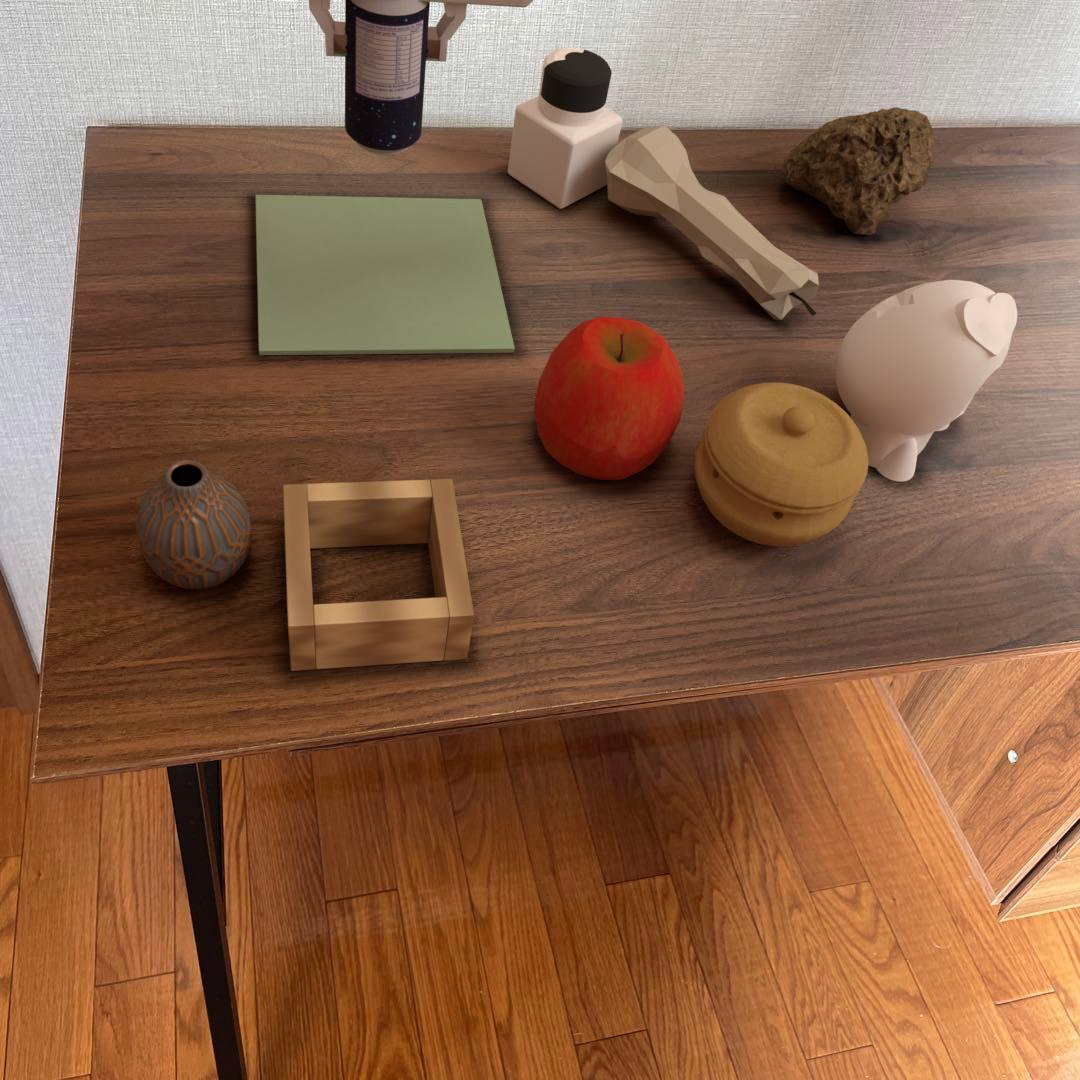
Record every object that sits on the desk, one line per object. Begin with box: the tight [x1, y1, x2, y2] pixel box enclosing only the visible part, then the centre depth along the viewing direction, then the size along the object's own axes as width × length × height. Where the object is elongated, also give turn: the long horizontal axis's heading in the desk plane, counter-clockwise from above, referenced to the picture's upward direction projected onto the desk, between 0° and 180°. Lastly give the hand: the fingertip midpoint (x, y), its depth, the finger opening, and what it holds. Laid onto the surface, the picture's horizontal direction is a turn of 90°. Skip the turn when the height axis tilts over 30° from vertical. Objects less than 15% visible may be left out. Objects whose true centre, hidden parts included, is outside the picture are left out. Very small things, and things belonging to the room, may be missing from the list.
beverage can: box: [344, 0, 431, 156], centre depth 79 cm, size 6×6×12 cm
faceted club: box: [605, 124, 820, 321], centre depth 98 cm, size 9×8×25 cm
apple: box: [533, 316, 686, 481], centre depth 80 cm, size 11×11×11 cm
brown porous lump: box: [781, 107, 935, 236], centre depth 104 cm, size 11×13×15 cm
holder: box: [282, 478, 475, 672], centre depth 71 cm, size 11×11×5 cm
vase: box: [135, 459, 253, 590], centre depth 69 cm, size 7×7×9 cm
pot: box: [693, 381, 869, 547], centre depth 79 cm, size 12×12×10 cm
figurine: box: [835, 279, 1018, 483], centre depth 84 cm, size 11×11×15 cm
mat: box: [254, 194, 516, 356], centre depth 93 cm, size 20×20×1 cm
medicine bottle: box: [507, 47, 623, 210], centre depth 101 cm, size 7×7×12 cm
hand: (386, 55), depth 78 cm, fingers closed on beverage can, 5 cm apart
